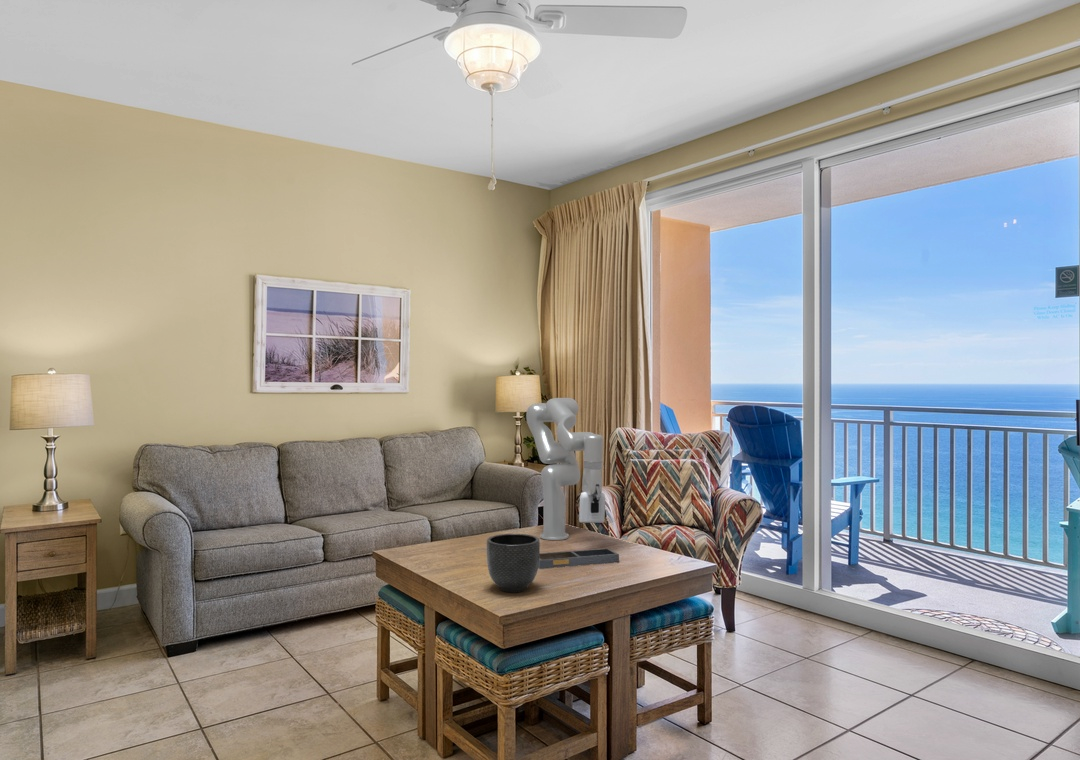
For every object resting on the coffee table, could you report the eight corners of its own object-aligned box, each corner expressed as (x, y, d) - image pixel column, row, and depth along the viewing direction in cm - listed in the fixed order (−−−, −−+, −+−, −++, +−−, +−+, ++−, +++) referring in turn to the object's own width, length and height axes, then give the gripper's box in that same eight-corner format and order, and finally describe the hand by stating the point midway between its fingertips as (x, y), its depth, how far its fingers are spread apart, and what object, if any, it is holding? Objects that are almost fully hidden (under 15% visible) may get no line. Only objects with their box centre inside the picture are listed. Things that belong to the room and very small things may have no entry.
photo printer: (603, 520, 271) (603, 489, 271) (605, 523, 267) (606, 492, 266) (578, 520, 269) (578, 490, 269) (580, 523, 265) (580, 492, 265)
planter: (515, 577, 231) (515, 531, 231) (550, 589, 218) (550, 539, 219) (475, 588, 219) (475, 538, 219) (510, 600, 207) (510, 548, 207)
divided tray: (531, 562, 252) (531, 553, 252) (608, 555, 261) (608, 548, 261) (540, 569, 242) (540, 560, 242) (619, 562, 252) (619, 554, 252)
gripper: (576, 462, 275) (575, 507, 275) (592, 469, 258) (591, 516, 259) (593, 462, 277) (592, 506, 277) (610, 468, 261) (609, 515, 261)
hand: (592, 510), depth 268 cm, fingers closed on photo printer, 4 cm apart
